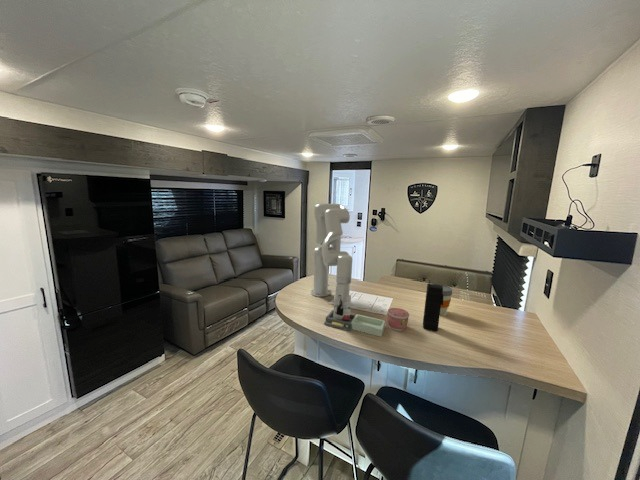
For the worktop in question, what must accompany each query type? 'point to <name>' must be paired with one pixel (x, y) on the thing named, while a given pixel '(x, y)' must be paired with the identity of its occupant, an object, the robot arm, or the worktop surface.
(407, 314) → the container
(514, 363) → the worktop surface
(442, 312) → the reusable coffee cup
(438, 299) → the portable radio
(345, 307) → the ink box
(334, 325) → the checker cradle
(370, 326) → the trough
